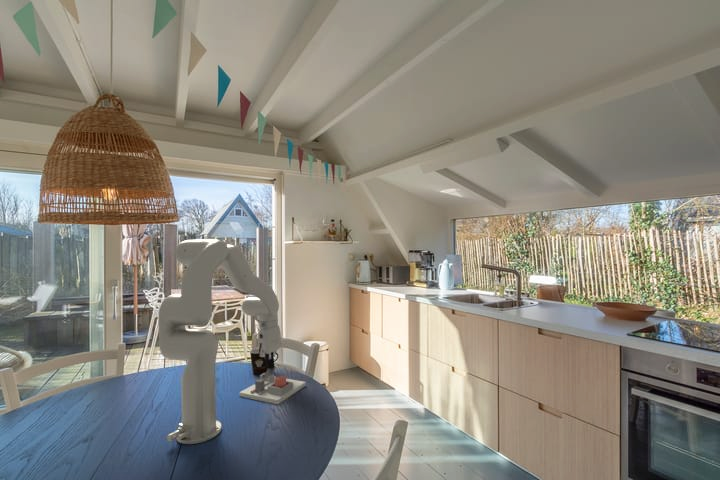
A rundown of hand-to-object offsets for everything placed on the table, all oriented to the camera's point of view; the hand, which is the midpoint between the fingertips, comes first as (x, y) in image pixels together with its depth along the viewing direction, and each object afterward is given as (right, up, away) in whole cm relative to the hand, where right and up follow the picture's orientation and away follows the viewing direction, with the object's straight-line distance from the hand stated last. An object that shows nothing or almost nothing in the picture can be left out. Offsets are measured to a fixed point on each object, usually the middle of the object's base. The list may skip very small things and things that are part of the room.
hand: (269, 367), depth 146 cm
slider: (-1, -4, -12) cm, 13 cm away
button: (+7, -4, -12) cm, 15 cm away
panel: (+4, -6, -8) cm, 11 cm away
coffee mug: (-6, -7, +11) cm, 15 cm away
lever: (-1, -4, -2) cm, 4 cm away
